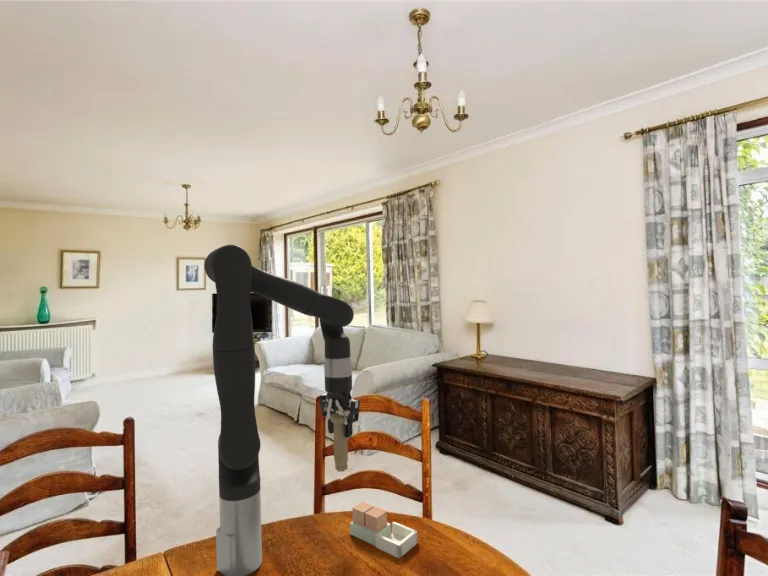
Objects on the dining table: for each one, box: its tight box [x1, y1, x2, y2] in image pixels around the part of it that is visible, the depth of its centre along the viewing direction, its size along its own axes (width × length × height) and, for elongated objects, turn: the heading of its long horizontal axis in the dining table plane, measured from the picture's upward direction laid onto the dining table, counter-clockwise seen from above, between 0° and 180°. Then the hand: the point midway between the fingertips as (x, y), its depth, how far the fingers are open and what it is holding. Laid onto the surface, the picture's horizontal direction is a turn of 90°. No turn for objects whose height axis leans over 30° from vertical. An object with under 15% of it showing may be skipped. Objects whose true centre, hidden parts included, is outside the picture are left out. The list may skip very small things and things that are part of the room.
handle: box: [330, 411, 349, 473], centre depth 114 cm, size 5×6×15 cm
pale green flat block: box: [349, 520, 392, 547], centre depth 109 cm, size 6×9×3 cm, turn 51°
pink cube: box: [352, 501, 375, 526], centre depth 110 cm, size 4×4×4 cm
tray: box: [375, 521, 418, 559], centre depth 104 cm, size 8×7×3 cm
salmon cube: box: [365, 506, 388, 532], centre depth 107 cm, size 4×4×4 cm
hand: (340, 434), depth 114 cm, fingers closed on handle, 5 cm apart
